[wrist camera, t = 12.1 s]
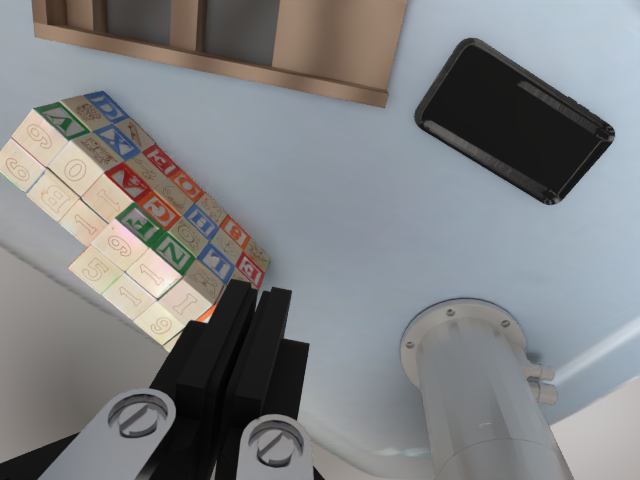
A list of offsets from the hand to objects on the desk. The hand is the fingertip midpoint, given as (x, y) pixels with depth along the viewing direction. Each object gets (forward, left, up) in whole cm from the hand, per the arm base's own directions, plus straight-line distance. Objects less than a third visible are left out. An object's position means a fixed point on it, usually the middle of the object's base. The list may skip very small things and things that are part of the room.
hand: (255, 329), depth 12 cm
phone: (-15, -3, -30) cm, 33 cm away
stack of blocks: (+13, +10, -30) cm, 34 cm away
